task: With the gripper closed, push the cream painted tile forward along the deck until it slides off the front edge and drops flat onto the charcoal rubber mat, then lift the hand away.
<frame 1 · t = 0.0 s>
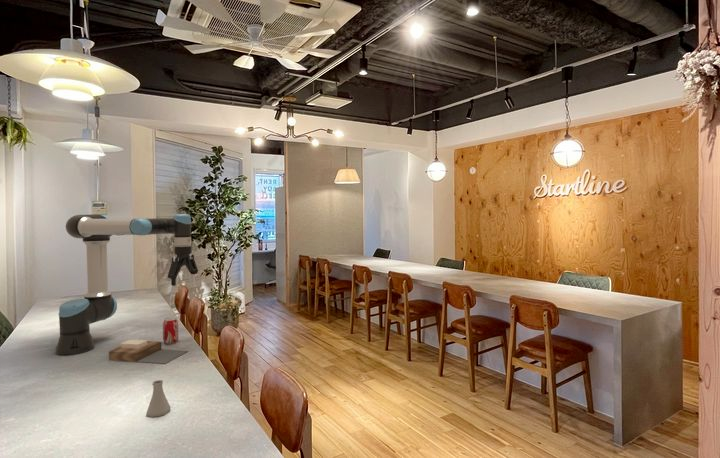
hand: (183, 289, 194), 28 cm above the table, fingers open, 13 cm apart
mat: (163, 356, 181), on the table
deck: (136, 354, 184), on the table
flask: (158, 412, 130), on the table
tile: (134, 346, 184), point 4 cm above the table, touching deck
soda can: (170, 342, 202), on the table
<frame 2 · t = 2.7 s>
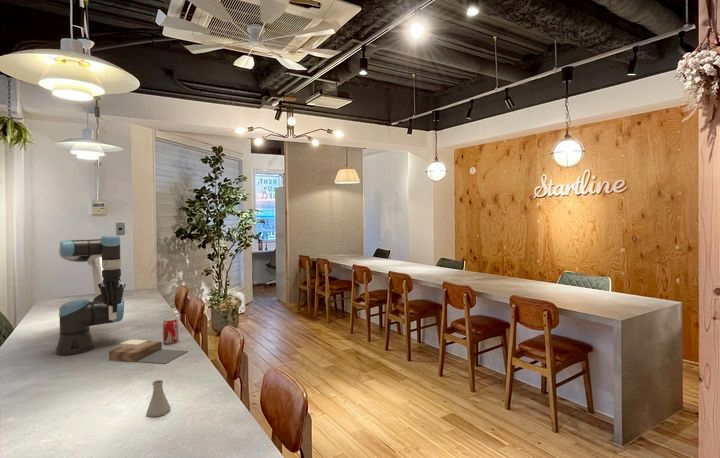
hand: (112, 319, 186), 16 cm above the table, fingers closed
nothing on the table moved.
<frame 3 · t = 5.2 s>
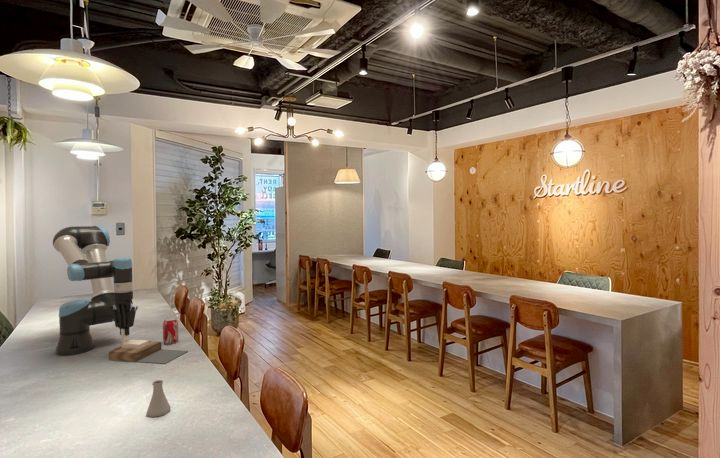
hand: (124, 342, 185), 6 cm above the table, fingers closed
tile: (135, 346, 184), point 4 cm above the table, touching deck, gripper
everything else where it was.
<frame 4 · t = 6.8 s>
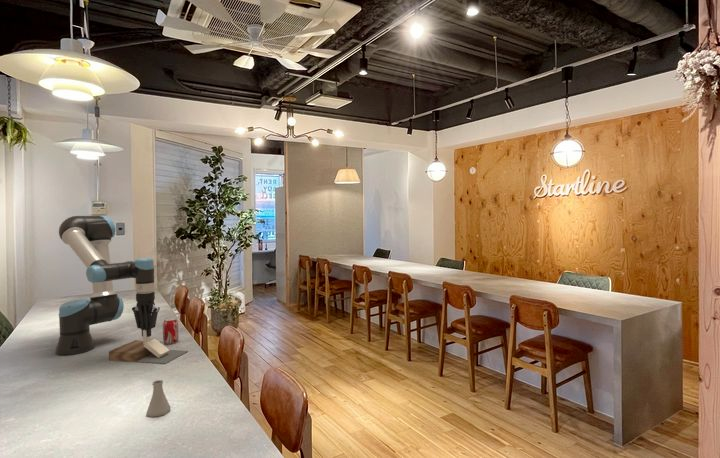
hand: (146, 343, 183), 6 cm above the table, fingers closed
tile: (155, 349, 182), point 3 cm above the table, tilted 34°, touching gripper
everything else where it was.
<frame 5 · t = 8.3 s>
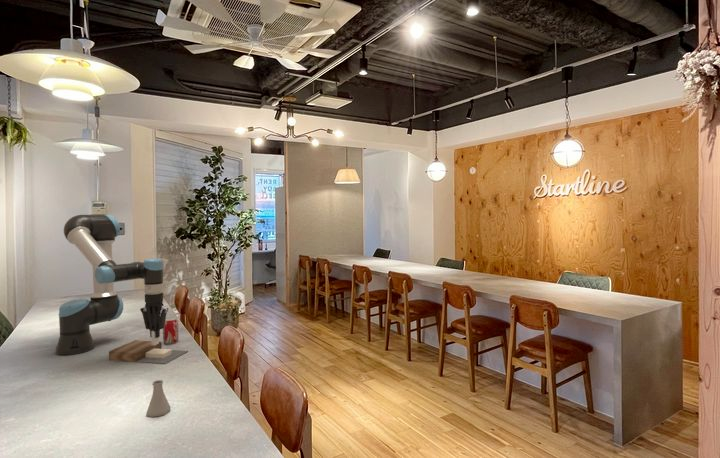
hand: (155, 344, 182), 5 cm above the table, fingers closed
tile: (158, 355, 182), resting on mat
everything else where it was.
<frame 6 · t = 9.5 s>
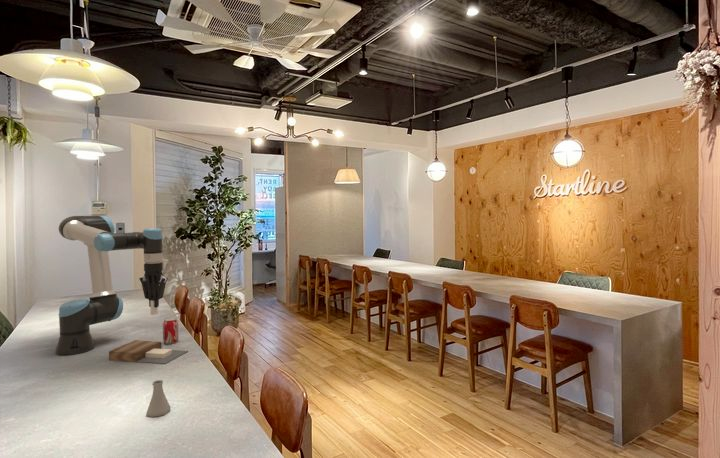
hand: (154, 314, 182), 19 cm above the table, fingers closed
nothing on the table moved.
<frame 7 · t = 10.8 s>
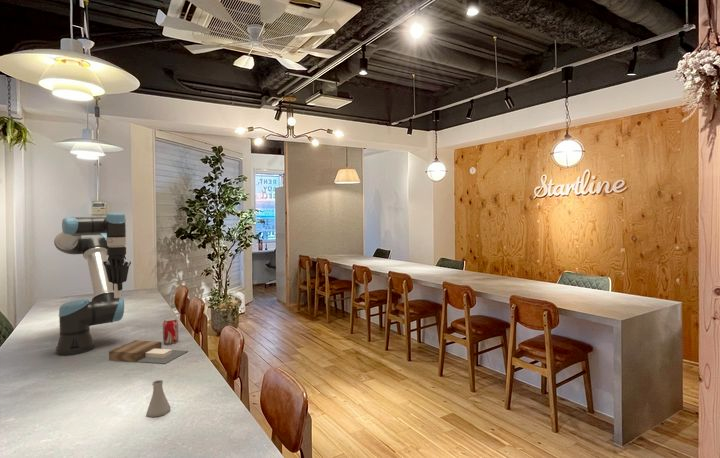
hand: (117, 297, 185), 26 cm above the table, fingers closed
nothing on the table moved.
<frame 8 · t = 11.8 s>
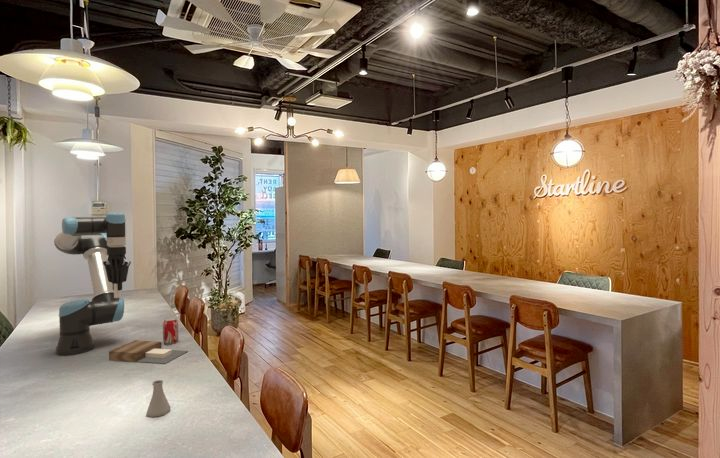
hand: (117, 297, 185), 26 cm above the table, fingers closed
nothing on the table moved.
at the end: tile inside the target area (2.8 cm from its centre), resting on mat; tile touching mat; the gripper is holding nothing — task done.
